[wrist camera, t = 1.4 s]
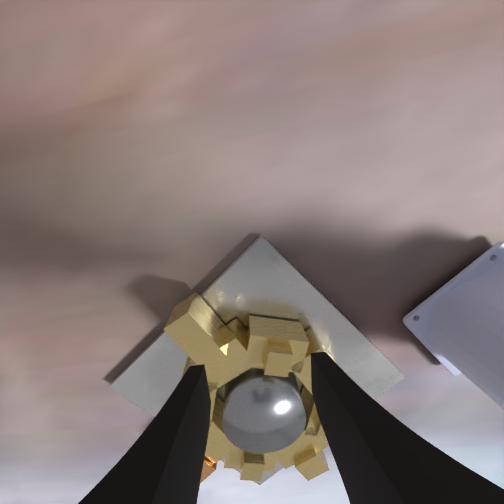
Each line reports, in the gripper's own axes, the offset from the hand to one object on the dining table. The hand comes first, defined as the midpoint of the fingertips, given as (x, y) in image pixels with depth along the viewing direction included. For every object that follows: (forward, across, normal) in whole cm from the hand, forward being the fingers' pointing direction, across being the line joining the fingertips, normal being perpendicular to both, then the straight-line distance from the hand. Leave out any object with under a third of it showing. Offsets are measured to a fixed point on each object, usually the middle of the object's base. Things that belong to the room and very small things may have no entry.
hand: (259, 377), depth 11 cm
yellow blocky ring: (+8, 0, +9) cm, 12 cm away
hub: (+9, 0, +9) cm, 13 cm away
